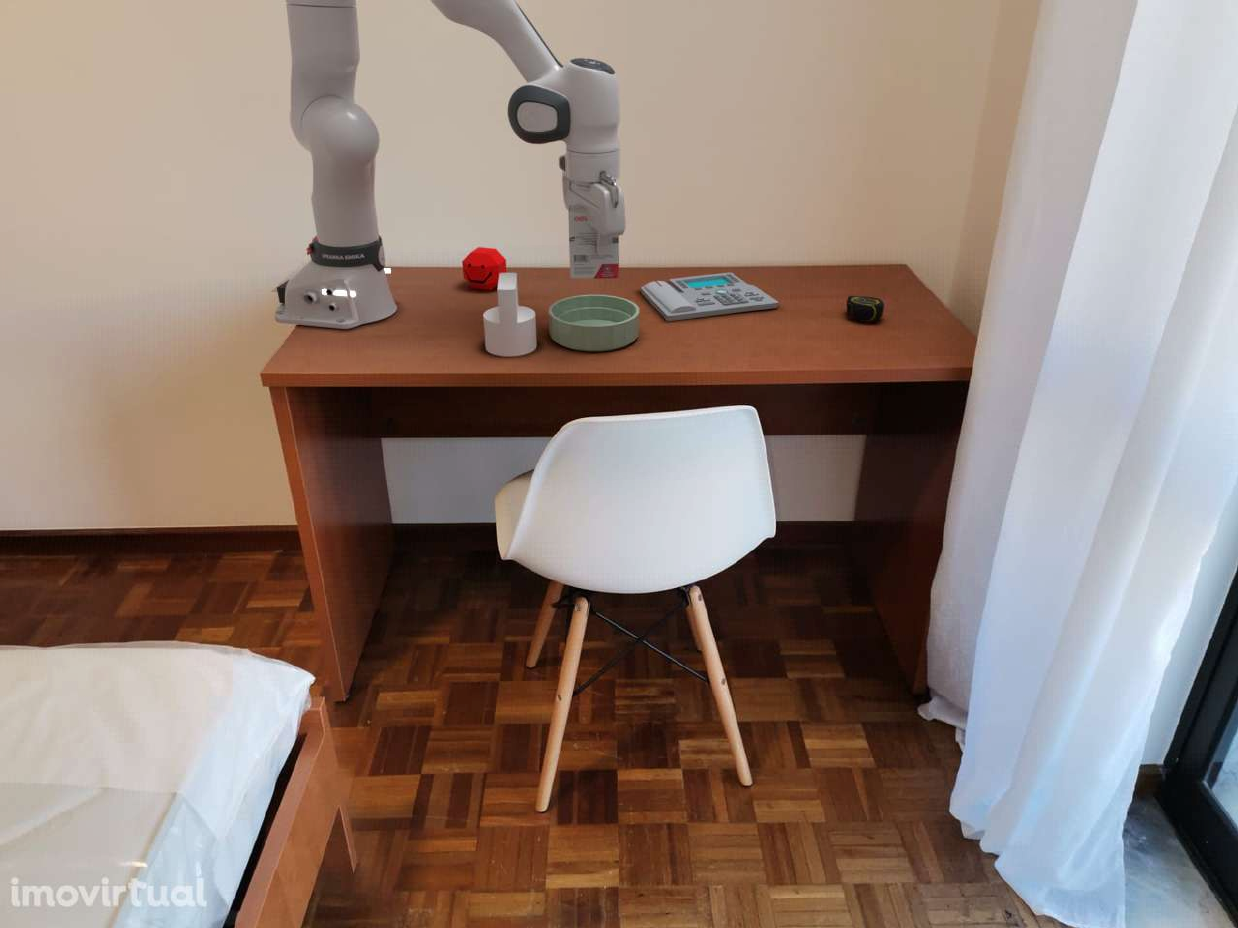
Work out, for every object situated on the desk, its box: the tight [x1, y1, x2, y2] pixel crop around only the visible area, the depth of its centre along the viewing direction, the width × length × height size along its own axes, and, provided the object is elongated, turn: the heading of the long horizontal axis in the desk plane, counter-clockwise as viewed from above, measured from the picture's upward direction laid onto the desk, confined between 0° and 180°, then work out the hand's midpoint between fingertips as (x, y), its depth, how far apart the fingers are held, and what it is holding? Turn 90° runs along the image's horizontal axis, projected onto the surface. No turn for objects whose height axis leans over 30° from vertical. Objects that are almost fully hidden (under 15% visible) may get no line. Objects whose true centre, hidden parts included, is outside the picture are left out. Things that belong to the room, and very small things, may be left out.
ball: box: [461, 246, 508, 291], centre depth 186 cm, size 8×8×8 cm
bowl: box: [548, 294, 640, 352], centre depth 163 cm, size 16×16×5 cm
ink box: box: [567, 205, 620, 280], centre depth 156 cm, size 8×5×12 cm, turn 93°
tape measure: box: [846, 295, 885, 322], centre depth 172 cm, size 7×7×4 cm
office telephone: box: [640, 272, 779, 322], centre depth 181 cm, size 23×3×20 cm
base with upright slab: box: [482, 272, 538, 357], centre depth 157 cm, size 9×9×12 cm
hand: (593, 248), depth 156 cm, fingers closed on ink box, 6 cm apart
